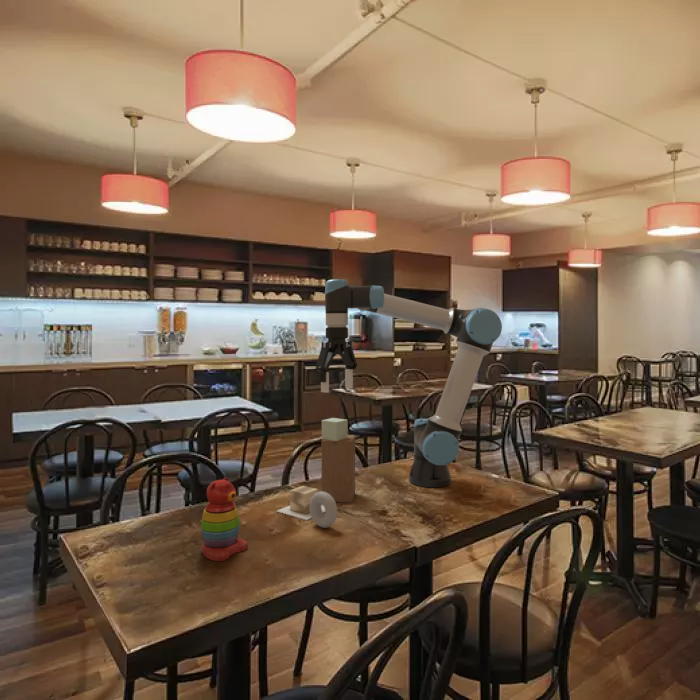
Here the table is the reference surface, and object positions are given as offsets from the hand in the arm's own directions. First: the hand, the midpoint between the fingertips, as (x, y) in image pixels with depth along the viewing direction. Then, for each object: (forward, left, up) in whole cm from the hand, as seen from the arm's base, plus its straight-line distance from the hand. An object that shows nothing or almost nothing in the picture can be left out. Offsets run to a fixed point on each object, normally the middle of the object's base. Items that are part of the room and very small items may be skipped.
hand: (337, 390), depth 174 cm
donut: (-15, +26, -35) cm, 46 cm away
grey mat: (-2, +19, -35) cm, 40 cm away
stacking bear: (-4, +53, -35) cm, 64 cm away
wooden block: (-3, +3, -35) cm, 35 cm away
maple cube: (-2, +19, -35) cm, 39 cm away
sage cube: (-2, +5, -15) cm, 16 cm away
